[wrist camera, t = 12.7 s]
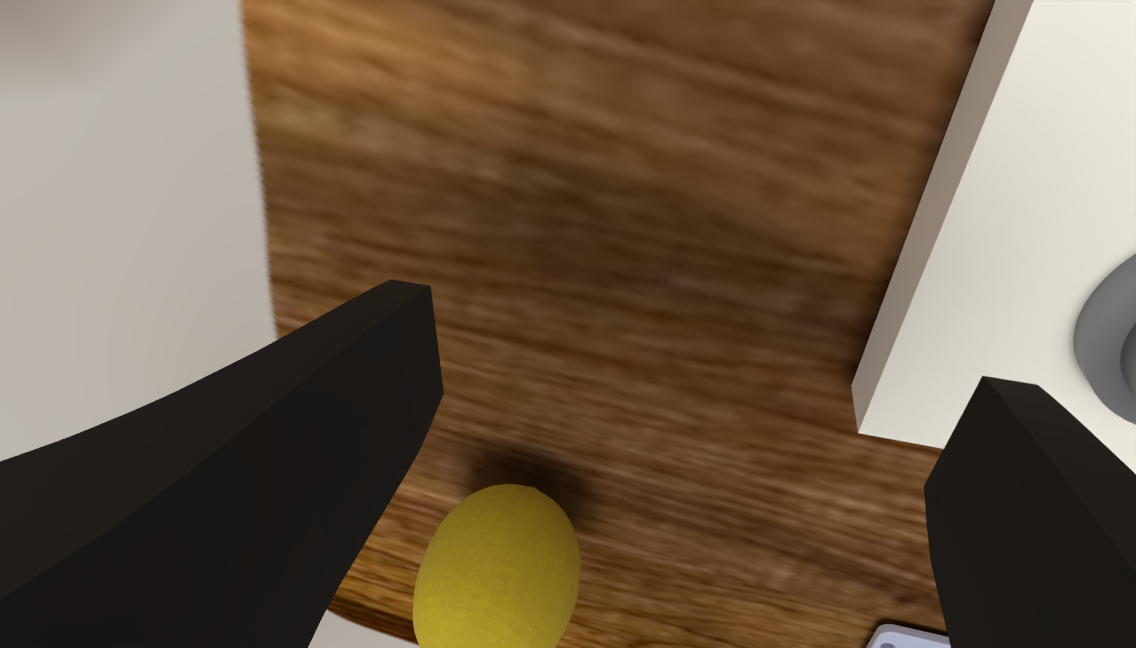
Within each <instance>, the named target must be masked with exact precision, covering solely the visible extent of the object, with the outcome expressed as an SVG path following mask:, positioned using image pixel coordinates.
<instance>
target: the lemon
mask: <svg viewBox="0 0 1136 648" xmlns="http://www.w3.org/2000/svg"><path fill="white" fill-rule="evenodd" d="M580 568H581V555H580V548H579V543H578V540H577V537H576V534H575V531H574V528H573V525H572V524H571V522H570V520H569V518H568V517H567V515H566V514H565V512H564V511H563V510H562V508H561V507H560V506H559V505H558V504H557V503H556V502H555V501H554V500H552V499H551V498H550V497H548V496H547V495H545V494H543V493H542V492H540V491H538V489H536V488H535V487H532V486H527V487H526V486H523V485H516V484H502V485H494V486H490V487H487V488H485V489H482V490H479V491H477V492H475V493H473V494H471V495H470V496H468V497H467V498H466V499H464V500H463V501H462V502H460V503H459V504H458V505H457V506H456V507H455V508H453V509H452V511H451V512H450V513H449V514H448V515H447V516H446V517H445V519H444V520H443V521H442V523H441V524H440V526H439V528H438V529H437V531H436V533H435V534H434V536H433V538H432V540H431V542H430V544H429V546H428V548H427V550H426V552H425V555H424V557H423V560H422V563H421V566H420V569H419V572H418V576H417V581H416V586H415V591H414V599H413V624H414V631H415V634H416V638H417V641H418V643H419V646H420V648H555V647H556V645H557V644H558V642H559V640H560V638H561V637H562V635H563V633H564V631H565V629H566V627H567V625H568V623H569V620H570V618H571V615H572V613H573V610H574V607H575V604H576V600H577V595H578V590H579V583H580Z"/></svg>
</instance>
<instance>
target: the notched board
mask: <svg viewBox="0 0 1136 648" xmlns="http://www.w3.org/2000/svg"><path fill="white" fill-rule="evenodd" d="M982 376H988V377H994V378H1000V379H1006V380H1012V381H1018V382H1024V383H1031V384H1037V385H1039V386H1040V387H1041V388H1042V389H1044V390H1045V391H1046V392H1047V393H1048V394H1050V395H1051V396H1052V397H1053V398H1054V399H1056V400H1057V401H1058V402H1059V403H1060V404H1061V405H1062V406H1063V407H1065V408H1066V409H1067V410H1068V411H1069V412H1070V413H1071V414H1072V415H1073V416H1074V417H1076V418H1077V419H1078V420H1079V421H1080V422H1081V423H1082V424H1083V425H1084V426H1085V427H1086V428H1087V429H1088V430H1090V431H1091V432H1092V433H1093V434H1094V435H1095V436H1096V437H1097V438H1098V439H1099V440H1100V441H1101V442H1102V443H1103V444H1104V445H1106V446H1107V447H1108V448H1109V449H1110V450H1111V451H1112V452H1113V453H1114V454H1115V455H1116V456H1117V457H1118V458H1119V459H1120V460H1121V461H1123V462H1124V463H1125V464H1126V465H1127V466H1128V467H1129V468H1130V469H1131V470H1132V471H1133V472H1134V473H1135V474H1136V0H995V3H994V6H993V8H992V11H991V14H990V16H989V19H988V22H987V24H986V27H985V30H984V32H983V35H982V38H981V40H980V43H979V46H978V48H977V51H976V54H975V56H974V59H973V62H972V64H971V67H970V70H969V72H968V75H967V78H966V80H965V83H964V86H963V88H962V91H961V94H960V96H959V99H958V102H957V105H956V107H955V110H954V113H953V115H952V118H951V121H950V123H949V126H948V129H947V131H946V134H945V137H944V139H943V142H942V145H941V147H940V150H939V153H938V155H937V158H936V161H935V163H934V166H933V169H932V171H931V174H930V177H929V179H928V182H927V185H926V187H925V190H924V193H923V195H922V198H921V201H920V203H919V206H918V209H917V211H916V214H915V217H914V219H913V222H912V225H911V227H910V230H909V233H908V235H907V238H906V241H905V243H904V246H903V249H902V251H901V254H900V257H899V259H898V262H897V265H896V267H895V270H894V273H893V275H892V278H891V281H890V283H889V286H888V289H887V291H886V294H885V297H884V299H883V302H882V305H881V307H880V310H879V313H878V315H877V318H876V321H875V323H874V326H873V329H872V331H871V334H870V337H869V339H868V342H867V345H866V348H865V350H864V353H863V356H862V358H861V361H860V364H859V366H858V369H857V372H856V374H855V377H854V380H853V382H852V385H851V388H852V395H853V402H854V409H855V416H856V423H857V429H858V433H861V434H866V435H872V436H877V437H883V438H888V439H894V440H899V441H905V442H910V443H916V444H921V445H927V446H932V447H937V448H943V449H944V447H945V446H946V444H947V442H948V440H949V438H950V436H951V434H952V432H953V430H954V429H955V427H956V425H957V423H958V421H959V419H960V417H961V415H962V413H963V411H964V410H965V408H966V406H967V404H968V402H969V400H970V398H971V396H972V394H973V393H974V391H975V389H976V387H977V385H978V383H979V381H980V379H981V377H982Z"/></svg>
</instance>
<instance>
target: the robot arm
mask: <svg viewBox="0 0 1136 648" xmlns="http://www.w3.org/2000/svg"><path fill="white" fill-rule="evenodd" d="M443 394H444V392H443V384H442V376H441V367H440V359H439V351H438V343H437V335H436V327H435V319H434V310H433V302H432V294H431V286H428V285H422V284H415V283H409V282H403V281H397V280H389V281H387V282H385V283H382V284H380V285H378V286H376V287H374V288H372V289H370V290H368V291H366V292H364V293H363V294H361V295H359V296H357V297H355V298H353V299H351V300H350V301H348V302H346V303H344V304H342V305H340V306H339V307H337V308H335V309H333V310H331V311H330V312H328V313H326V314H324V315H322V316H321V317H319V318H317V319H315V320H313V321H311V322H310V323H308V324H306V325H304V326H302V327H300V328H299V329H297V330H295V331H293V332H291V333H289V334H288V335H286V336H284V337H282V338H280V339H278V340H277V341H275V342H273V343H271V344H269V345H267V346H266V347H264V348H262V349H260V350H258V351H256V352H254V353H252V354H250V355H248V356H246V357H244V358H242V359H240V360H238V361H236V362H234V363H232V364H231V365H228V366H226V367H224V368H223V369H220V370H218V371H217V372H214V373H212V374H210V375H208V376H206V377H204V378H202V379H200V380H198V381H196V382H194V383H192V384H190V385H188V386H186V387H184V388H182V389H180V390H178V391H176V392H174V393H172V394H169V395H167V396H165V397H163V398H161V399H159V400H156V401H154V402H152V403H150V404H147V405H145V406H143V407H141V408H138V409H136V410H134V411H132V412H129V413H127V414H124V415H122V416H119V417H117V418H114V419H112V420H110V421H107V422H105V423H102V424H100V425H98V426H95V427H93V428H90V429H88V430H85V431H83V432H80V433H78V434H75V435H73V436H70V437H68V438H65V439H62V440H60V441H57V442H54V443H52V444H49V445H46V446H43V447H40V448H38V449H35V450H32V451H29V452H26V453H23V454H20V455H18V456H15V457H12V458H9V459H6V460H3V461H1V462H0V648H308V646H309V644H310V642H311V640H312V638H313V636H314V633H315V631H316V629H317V627H318V625H319V623H320V621H321V619H322V617H323V615H324V613H325V611H326V609H327V607H328V606H329V604H330V602H331V600H332V598H333V596H334V595H335V593H336V591H337V589H338V587H339V585H340V584H341V582H342V580H343V579H344V577H345V575H346V574H347V572H348V570H349V569H350V567H351V565H352V564H353V562H354V560H355V559H356V557H357V555H358V554H359V552H360V550H361V549H362V547H363V545H364V544H365V542H366V540H367V539H368V537H369V535H370V534H371V532H372V530H373V529H374V527H375V525H376V524H377V522H378V520H379V519H380V517H381V515H382V514H383V512H384V510H385V509H386V507H387V505H388V504H389V502H390V500H391V499H392V497H393V495H394V494H395V492H396V490H397V489H398V487H399V485H400V483H401V482H402V480H403V478H404V477H405V475H406V473H407V472H408V470H409V468H410V466H411V465H412V463H413V461H414V459H415V458H416V456H417V454H418V452H419V450H420V448H421V446H422V444H423V441H424V439H425V437H426V435H427V432H428V430H429V428H430V426H431V423H432V421H433V418H434V416H435V413H436V411H437V408H438V406H439V404H440V401H441V399H442V396H443ZM924 493H925V506H926V519H927V531H928V540H929V549H930V558H931V564H932V569H933V573H934V578H935V582H936V586H937V591H938V595H939V599H940V604H941V608H942V612H943V616H944V621H945V625H946V629H947V633H948V637H946V636H942V635H937V634H933V633H929V632H924V631H920V630H916V629H911V628H907V627H903V626H898V625H894V624H884V625H881V626H879V627H878V628H877V630H876V631H875V633H874V635H873V637H872V638H871V640H870V642H869V643H868V645H867V647H866V648H1136V474H1135V473H1134V472H1133V471H1132V470H1131V469H1130V468H1129V467H1128V466H1127V465H1126V464H1125V463H1124V462H1123V461H1121V460H1120V459H1119V458H1118V457H1117V456H1116V455H1115V454H1114V453H1113V452H1112V451H1111V450H1110V449H1109V448H1108V447H1107V446H1106V445H1104V444H1103V443H1102V442H1101V441H1100V440H1099V439H1098V438H1097V437H1096V436H1095V435H1094V434H1093V433H1092V432H1091V431H1090V430H1088V429H1087V428H1086V427H1085V426H1084V425H1083V424H1082V423H1081V422H1080V421H1079V420H1078V419H1077V418H1076V417H1074V416H1073V415H1072V414H1071V413H1070V412H1069V411H1068V410H1067V409H1066V408H1065V407H1063V406H1062V405H1061V404H1060V403H1059V402H1058V401H1057V400H1056V399H1054V398H1053V397H1052V396H1051V395H1050V394H1048V393H1047V392H1046V391H1045V390H1044V389H1042V388H1041V387H1040V386H1039V385H1037V384H1031V383H1024V382H1018V381H1012V380H1006V379H1000V378H994V377H988V376H982V377H981V379H980V381H979V383H978V385H977V387H976V389H975V391H974V393H973V394H972V396H971V398H970V400H969V402H968V404H967V406H966V408H965V410H964V411H963V413H962V415H961V417H960V419H959V421H958V423H957V425H956V427H955V429H954V430H953V432H952V434H951V436H950V438H949V440H948V442H947V444H946V446H945V447H944V449H943V451H942V453H941V455H940V457H939V459H938V461H937V463H936V465H935V466H934V468H933V470H932V472H931V474H930V476H929V478H928V480H927V482H926V483H925V485H924Z"/></svg>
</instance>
